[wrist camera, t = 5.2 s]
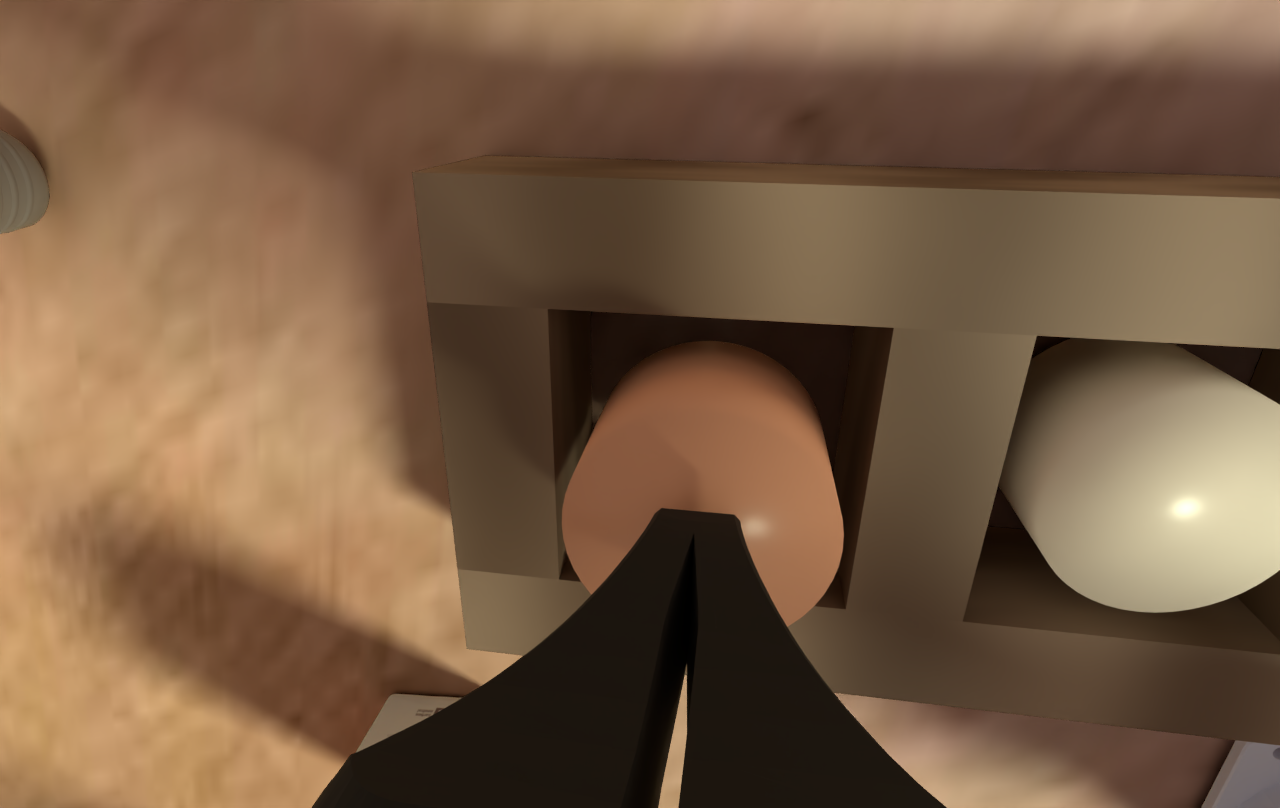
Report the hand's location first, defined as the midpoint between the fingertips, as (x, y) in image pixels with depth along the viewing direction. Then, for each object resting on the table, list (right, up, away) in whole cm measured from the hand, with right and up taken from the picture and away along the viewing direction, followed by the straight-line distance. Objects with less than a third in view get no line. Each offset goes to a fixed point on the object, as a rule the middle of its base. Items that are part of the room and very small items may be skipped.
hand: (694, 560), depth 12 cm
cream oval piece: (+10, +2, +5) cm, 11 cm away
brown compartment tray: (+6, +3, +6) cm, 9 cm away
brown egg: (+1, +2, +4) cm, 4 cm away
